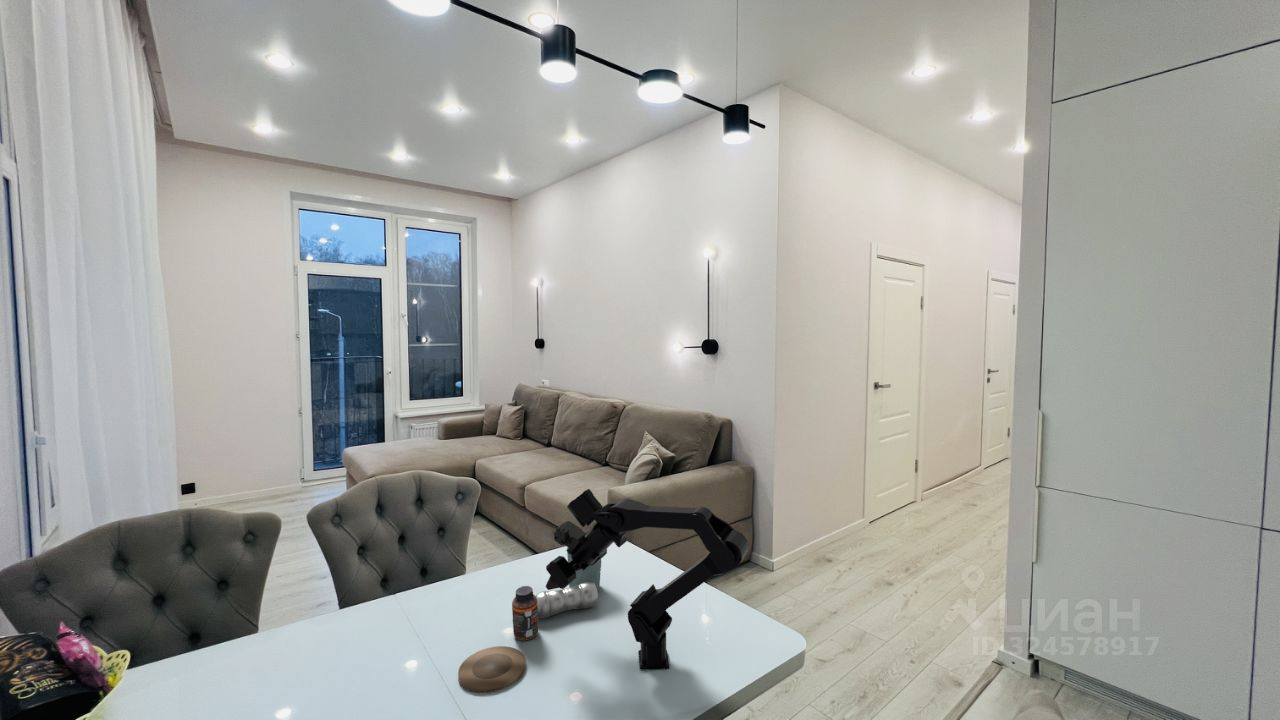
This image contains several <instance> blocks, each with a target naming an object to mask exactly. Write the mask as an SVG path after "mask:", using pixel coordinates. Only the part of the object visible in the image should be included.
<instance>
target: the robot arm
mask: <svg viewBox="0 0 1280 720" xmlns="http://www.w3.org/2000/svg"><path fill="white" fill-rule="evenodd" d="M566 508H567V509H568V511H569V512H570V513H571V514H572V516H573V517H574V518H575V519H576V521H577V522H578V523H579V524H580V525H581V527H583V528H584V527H586V526H587V527H589V528H590V526H592V525H593V524H594V526H593V527H591V529H590V530H588V531H587V532H585V531H584V530H583V529H582V528H580V527H579V526H578V525H576V524H575V523H573V522H572V521H570V520H569V521H568V520H566V521H565V522H563V523H561V524H560V525H559V526H558V528H557V529H556V530H555V531H554V532H553V540H554V542H556V543H557V544H559V545H561V546H565V547H566V552H568V553H569V554H571V558H572V561H571V562H568V559H566V557H565V556H562V555H558V556H557V557H556V558H554V559H553V560H551V561H549V563H548V564H547V565H546V567H545V570H546V572H547V573H548V574H549V578H548V580H547V582H546V585H545V588H546V589H547V591H552V590H555V589H556V590H557V589H560V590H562V589H566V588H568V587H569V584H570V583H571V582H573V581H574V580H575V579H576V572H575V571H578V570H580V569H583V570H585V569H586V568H587V567H589V566H591V565H594V564H595V563H596V562H598V561H599V560H600V559H601V560H602V559H603V558H604V557H605V556H606V555H607V553H608V549H609V547H611V545H612V544H615V545H616V547H617V548H620V547H621V546H623V545H625V543H626V542H627V541H628V539H627V536H626V535H627V534H626V533H627V532H632V531H635V530H639V529H645V528H655V529H670V530H672V529H673V530H686V531H687V530H689V531H693V532H695V534H697V535H698V537H699V538H700V541H701V542H702V544H703V546H704V547H705V549H706V550H707V551H708V553H707V554H706V555H704V557H702V558H701V559H699V560H698V561H697V562H696V563H694V564H693V565H692V566H690V567H689V568H688V569H686V570H684V572H682V573H681V574H680V575H678V576H677V577H675V578H674V579H672V580H671V581H670V582H669V583H667V584H665V585H664V586H663V587H660V588H658V589H657V588H656V586H655V585H654V583H653V584H652V585H651V586H650V587H649V588H648V589H646V590H643V591H641V592H640V594H638V596H637V597H636V598H635V599H634V600H633V602H631V603H630V604H629V606H630V608H629V610H628V611H627V620H628V621H627V622H628V623H629V625H630V627H631V630H632V634H633V636H634V640H635V642H637V643H640V649H639V650H638V653H637V654H638V666H639V671H654V670H655V671H657V670H669V669H670V662H669V655H668V649H667V630H668V629H669V628H670V627H671V624H672V622H673V617H672V616H671V615H670V614H669V612H668V611H667V610H668V609H669V608H670V607H672V606H673V605H675V604H676V603H677V602H679V601H680V600H682V599H683V598H685V596H687V595H688V594H690V593H691V592H693V591H695V589H697V588H699V587H700V586H701V585H702V584H704V583H705V582H706V581H709V580H710V579H711V578H712V577H715V576H720V575H724V574H727V573H729V572H731V571H733V570H736V569H737V568H738V567H740V565H741V564H742V562H743V560H744V558H745V557H746V555H747V553H748V552H749V547H750V546H749V541H748V539H747V537H746V536H745V535H744V534H743V533H742V532H740V531H737V530H736V529H734V527H732V525H731V524H730V523H728V522H727V521H725V520H724V519H722V518H720V517H719V516H717V515H715V513H713V512H712V511H711V510H710V509H709V508H707V507H706V506H700V507H684V506H683V507H681V506H680V507H677V506H656V505H655V506H651V505H646V504H644V503H643V502H641V501H639V500H633V499H628V498H626V499H624V498H623V499H622V500H620V501H619V502H609V503H606V504H605V505H602V503H600V501H599V500H598V499H597V497H596V496H595V495H594V493H593V492H592V490H591V489H590V488H589V489H586V490H584V491H582V493H580V494H579V495H578V496H576V498H574V499H572V500H571V501H570V502H569V503H568V505H567V506H566ZM567 547H569V548H568V549H567Z"/></svg>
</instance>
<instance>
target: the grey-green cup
mask: <svg viewBox="0 0 1280 720" xmlns="http://www.w3.org/2000/svg"><path fill="white" fill-rule="evenodd" d="M568 548H569V547H567V546H566V550H567V549H568ZM566 552H567V551H566ZM566 555H567V561H568V562H571V561H572V558H571V554H569V553H568V552H567V553H566ZM575 572H576V579H575V580H574V581H573V582H571V583H570V584H569V585H568V588H570V587H573V586H577V585H579V584H581V583H584V582H593V583H594V584H595V585H596V588H597V592H598V591H599V590H600V588H601V587H600V584H601V573H602V558H601V559H600V560H599V561H598V562H596V563H595V564H594V565H591V566H589V567H587V568H586V569H585V570H583V569H580V570H578V571H575Z"/></svg>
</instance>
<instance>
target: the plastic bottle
mask: <svg viewBox="0 0 1280 720" xmlns="http://www.w3.org/2000/svg"><path fill="white" fill-rule="evenodd" d="M535 596H536V598H537V606H538V619H547V618H549V617H553V616H555V615H557V614H560V613H562V612H563V613H564V612H566V611H570V610H572V611H573V610H576V609H577V610H578V609H579V610H580V609H591V608H592V607H595V606H596V605H597V604H598V602H599V592H598V591H597V588H596V585H595V584H594V583H593V582H584V583H581V584H579V585H577V586H573V587H570V588H569V587H566V588H564V589H556V590H546V591H545V590H544V591H543V590H542V591H540V592H538V593H537V594H536V595H535Z"/></svg>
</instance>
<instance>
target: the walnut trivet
mask: <svg viewBox="0 0 1280 720" xmlns="http://www.w3.org/2000/svg"><path fill="white" fill-rule="evenodd" d="M526 664H527V663H526V656H525V654H524V653H523V652H522V651H520V649H517V648H515V647H511V646H506V645H505V646H503V645H500V646H499V645H498V646H492V647H487V648H483V649H481V650H478V651H476V652H475V653H472V654H471V655H469V656H468V657H466V659H464V660H463V662H462V663H461V664H460V666H459V668H458V672H457V674H458V675H457V676H458V682H459V684H460V686H461V687H462V688H463V689H465V690H467V691H468V692H469V691H470V692H472V693H478V694H479V693H481V694H486V693H492V692H497V691H498V692H499V691H500V690H503V689H506V688H508V687H510V686H512V685H513V684H514V683H517V681H518V680H519V679H520V678H521V677H522V676H523V675H524V673H525V671H526V668H527V665H526Z"/></svg>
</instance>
